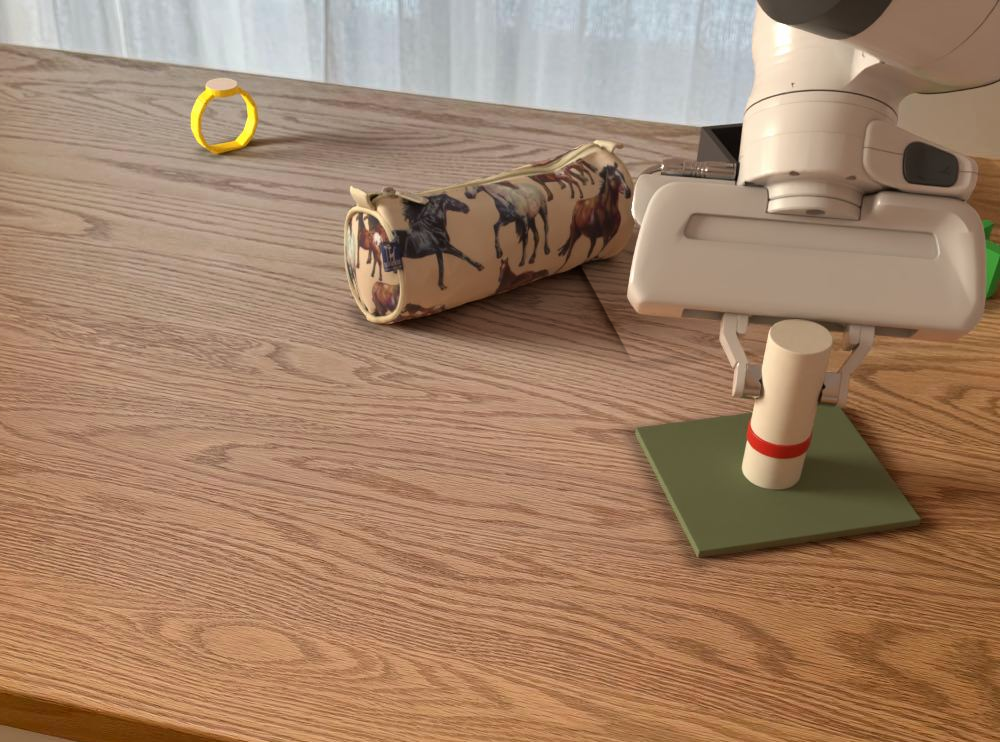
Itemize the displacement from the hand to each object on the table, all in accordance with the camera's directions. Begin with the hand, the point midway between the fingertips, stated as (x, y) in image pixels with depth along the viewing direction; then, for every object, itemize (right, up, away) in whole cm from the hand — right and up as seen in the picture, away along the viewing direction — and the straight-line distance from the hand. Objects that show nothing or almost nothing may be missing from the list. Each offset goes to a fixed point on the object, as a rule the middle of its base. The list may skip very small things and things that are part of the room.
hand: (788, 401), depth 73 cm
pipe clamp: (+17, +13, +23) cm, 32 cm away
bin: (+8, +20, +31) cm, 38 cm away
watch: (-40, +27, +39) cm, 62 cm away
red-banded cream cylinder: (0, -4, +4) cm, 6 cm away
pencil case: (-17, +11, +22) cm, 30 cm away
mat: (0, -4, +5) cm, 7 cm away
